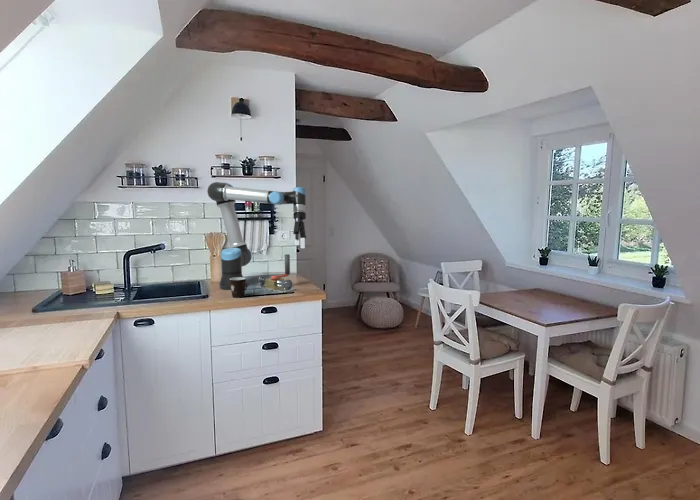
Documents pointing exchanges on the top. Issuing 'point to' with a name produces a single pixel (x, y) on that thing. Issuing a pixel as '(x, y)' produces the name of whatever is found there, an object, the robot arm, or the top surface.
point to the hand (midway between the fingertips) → (300, 246)
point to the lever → (287, 268)
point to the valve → (275, 284)
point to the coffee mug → (238, 287)
